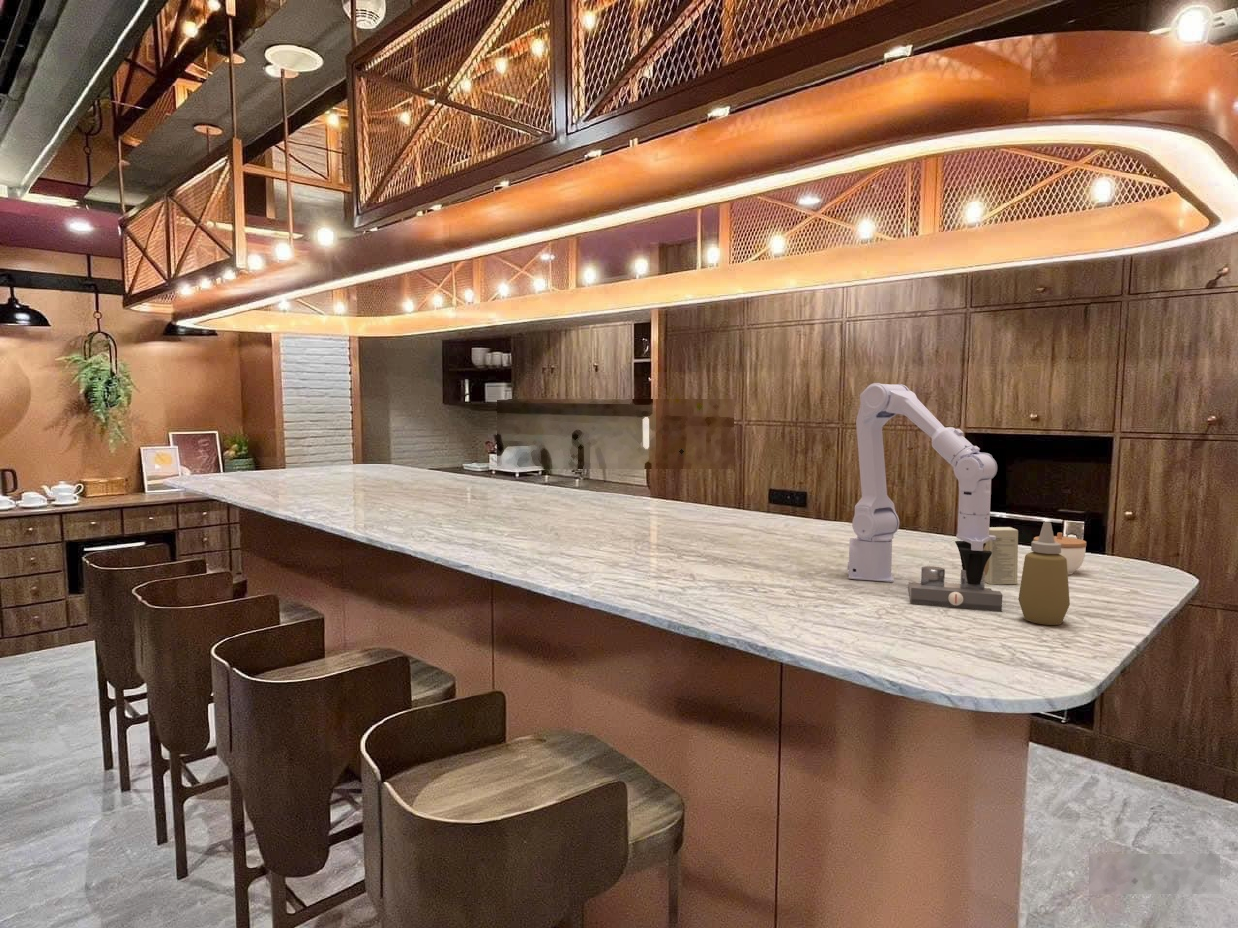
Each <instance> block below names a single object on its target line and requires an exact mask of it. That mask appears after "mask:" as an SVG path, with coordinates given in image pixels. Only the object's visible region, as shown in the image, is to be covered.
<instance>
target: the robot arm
mask: <svg viewBox="0 0 1238 928" xmlns="http://www.w3.org/2000/svg"><path fill="white" fill-rule="evenodd" d="M859 401H860V405H859V409H858V413H857V416H856V419H855V420H856V421H855V423H856V426H855V427H856V437H857V438H856V439H857V450H858V451H857V452H858V463H859V464H858V466H859V477H860V491H861V497H860V499H859V500H858V502H857V503H856V504H855V506H854V516H853V517H852V521H851V522H852V530H853V532H854V533H855V535H856V536H857V537H856V538H855V537H851V538H850V537H849V545H848V546H849V547H848V548H849V550H848V562H847V571H848V577H847V578H848V579H849V580H850V579H851V580H861V581H863V580H864V581H873V582H875V581H876V582H886V583H887V582H888V583H893V582H894V572H892V567H893V562H892V559H893V539H894V534H896V533H897V532H898V530H899V528H900V518H899V516H898V514H897V512H896V507H895V503H894V502H893V501H892V499H891V498H890V497H889V496H888V488H887V486H888V485H887V477H886V476H887V475H886V463H885V462H886V461H885V447H884V439H883V438H884V437H883V436H884V435H883V427H884V426H885V424H886V423H888V421H889V420H891V419H892V418H893V417H895V416H897V415H902V416H905V417H906V418H908V419H909V420H910V422H912V423H913V424H914V425H916V427H918V428H919V429H920V430H921V431H922V432H923V433H925V434H926V435H927V436H928V437H929V438H931V447H932V448H933V449H934V450H935V451H936V452H937V453H938V454H939V455H940V456H941V457H942V458H943V459H944V461H946V462H947V463H948V464H949V465H951V467H952V470H953V474H954V476H955V478H956V479H957V481H958V513H957V515H958V516H957V533H956V535H955V537H956V539H957V540H955V541H954V542H955V544H956V547H957V548H958V549H957V550H958V552H959V556H960V561H961V563H960V564H961V568H962V569H966V577H967V582H968V584H974V585H980V582H981V579H982V576H983V571H984V568H985V565H986V563H987V561H988V559H989V558H990V556H991V554H992V552H991V551H985V550H983V548H984V547H985V545H986V542H987V541H989V540H996V537H995V536H994V535H989V527H990V522H991V521H990V518H991V498H992V497H991V495H992V479H994V477H995V476H996V475H997V472H998V464H997V461H996V460H995V458H993V455H992V454H990V453H988V452H980V450H981V448H980V447H978V446H977V445H973V444H972V442H970V441H969V440H968V439H967V438H965V436H963V435H964V432H963V431H962V430H961V429H960V428H955V427H952V426H949V427H945V426H944V425H943V424H942V423H941V421H939V419H937V418H936V417H935V416H934V414H933V413H932V412H931V411H930V410H929V409H928V408H927V407H926V406H925V405H924V404H923V402H922V401H920V400H919V398H918V397H917V394H916V393H915V392H914V391H912V390H910V388H908V386H906V385H904V384H901V383H896V384H887V383H880V382H874V383H871V384H868V386H867V387H866V388H865V389H864V390H863V391H862V392H861V393H860V394H859ZM962 569H961V570H962Z"/></svg>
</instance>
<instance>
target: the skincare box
mask: <svg viewBox="0 0 1238 928" xmlns="http://www.w3.org/2000/svg"><path fill="white" fill-rule="evenodd" d="M989 535H994V536H995V537H996V540H989V541H987V542H986V545H985V547H984V548H983V550H985V551H991V552H992V554H991V556H990V558H989V559H988V561H987V563H986V565H985V568H984V572H985V584H986V583H987V584H988V585H1017V584H1018V567H1019V566H1018V565H1019V564H1018V562H1019V561H1018V560H1019V559H1018V557H1019V553H1018V552H1019V530H1018V529H1016V528H1013V527H1011V526H996V527H995V526H994V527H993V526H991V527H990V526H989Z"/></svg>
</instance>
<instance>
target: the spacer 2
mask: <svg viewBox="0 0 1238 928" xmlns="http://www.w3.org/2000/svg"><path fill="white" fill-rule="evenodd" d="M959 584H960V588H963V589H976V590H984V588H986V586H985V585H986V582H985V572H984V571H983V576H982V579H981V582H980V585H974V584H968V582H967V577H966V569H960V583H959Z"/></svg>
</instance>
